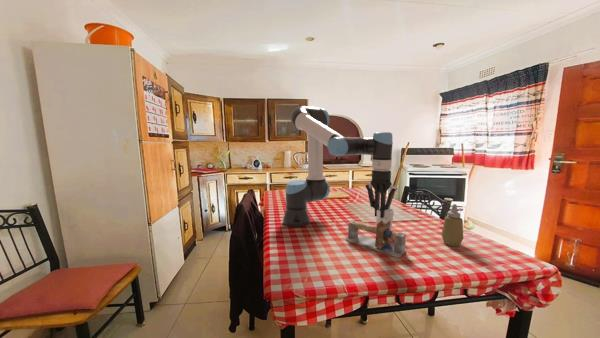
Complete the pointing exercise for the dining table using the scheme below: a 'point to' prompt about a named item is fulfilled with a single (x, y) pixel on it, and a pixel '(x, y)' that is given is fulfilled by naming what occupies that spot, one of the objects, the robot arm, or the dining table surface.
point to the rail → (390, 249)
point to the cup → (389, 216)
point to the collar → (380, 229)
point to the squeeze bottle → (453, 228)
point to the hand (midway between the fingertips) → (379, 224)
